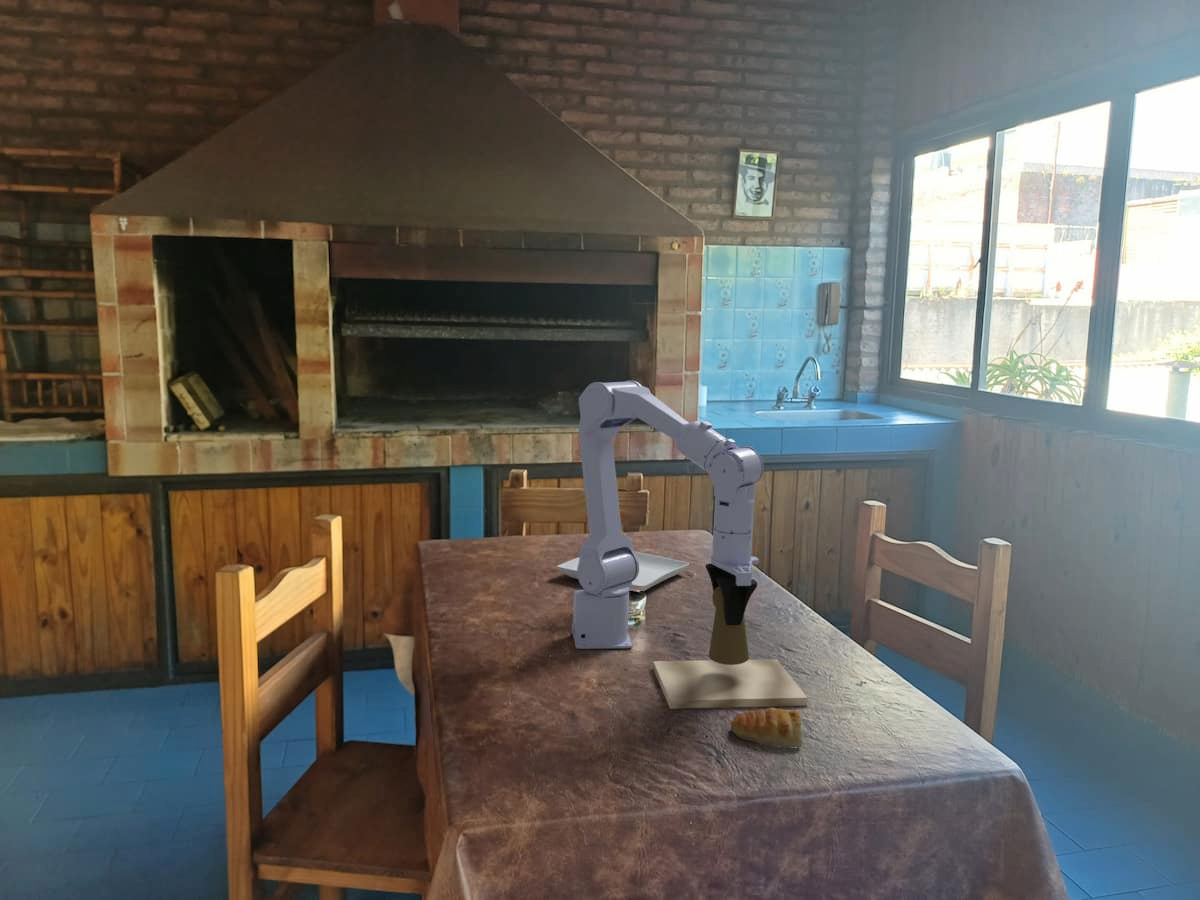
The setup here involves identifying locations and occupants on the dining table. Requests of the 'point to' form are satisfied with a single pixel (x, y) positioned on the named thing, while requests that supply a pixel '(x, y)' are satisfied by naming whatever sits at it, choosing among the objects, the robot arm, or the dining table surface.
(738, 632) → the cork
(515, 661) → the dining table surface
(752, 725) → the pastry
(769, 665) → the birch board
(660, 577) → the salad plate
